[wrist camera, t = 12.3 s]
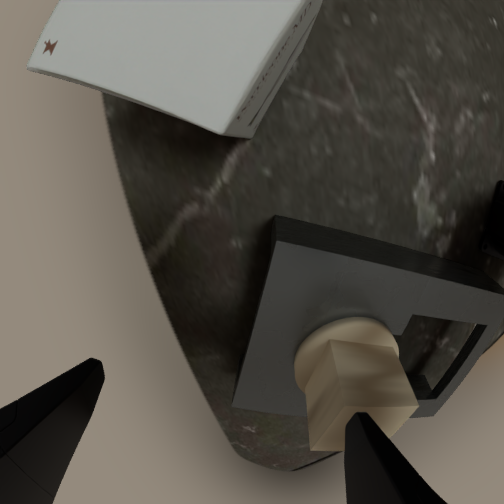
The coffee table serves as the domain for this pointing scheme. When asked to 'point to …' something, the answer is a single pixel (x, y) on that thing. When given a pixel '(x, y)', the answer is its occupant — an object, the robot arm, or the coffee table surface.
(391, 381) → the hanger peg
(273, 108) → the coffee table surface
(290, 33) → the supplement box
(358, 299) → the keyhole plate
